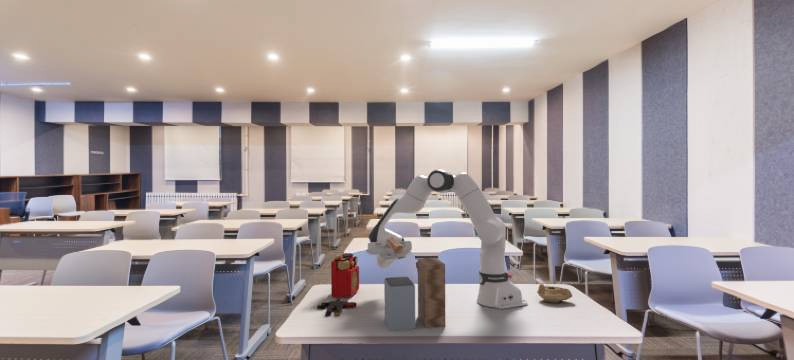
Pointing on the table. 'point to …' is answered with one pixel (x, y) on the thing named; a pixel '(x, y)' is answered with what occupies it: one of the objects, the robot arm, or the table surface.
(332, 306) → the toy
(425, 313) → the post
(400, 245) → the bar
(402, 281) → the dock
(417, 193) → the robot arm
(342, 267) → the radio
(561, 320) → the table surface
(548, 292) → the oil lamp
